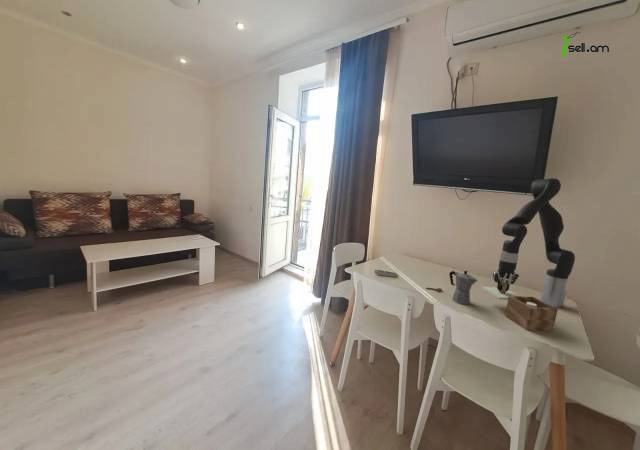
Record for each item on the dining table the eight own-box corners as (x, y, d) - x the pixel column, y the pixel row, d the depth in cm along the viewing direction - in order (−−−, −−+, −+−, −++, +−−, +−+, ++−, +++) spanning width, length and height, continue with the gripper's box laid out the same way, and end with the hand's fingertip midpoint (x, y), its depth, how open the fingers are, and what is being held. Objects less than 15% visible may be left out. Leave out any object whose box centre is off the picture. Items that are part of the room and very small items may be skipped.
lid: (504, 289, 147) (506, 278, 146) (524, 300, 133) (527, 287, 132) (480, 288, 146) (483, 276, 145) (499, 299, 132) (501, 286, 131)
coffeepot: (477, 304, 143) (482, 273, 140) (468, 307, 138) (473, 276, 135) (450, 293, 155) (455, 265, 153) (441, 296, 150) (446, 267, 147)
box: (528, 316, 132) (533, 296, 130) (552, 331, 119) (557, 309, 117) (504, 315, 131) (508, 295, 129) (526, 330, 118) (531, 308, 117)
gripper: (515, 258, 141) (509, 288, 143) (490, 257, 140) (485, 287, 143) (526, 263, 133) (520, 294, 136) (501, 261, 133) (495, 292, 135)
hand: (502, 290), depth 139 cm, fingers closed on lid, 3 cm apart
